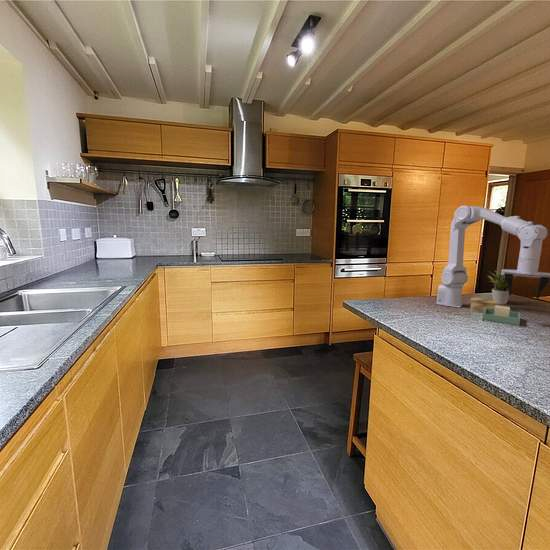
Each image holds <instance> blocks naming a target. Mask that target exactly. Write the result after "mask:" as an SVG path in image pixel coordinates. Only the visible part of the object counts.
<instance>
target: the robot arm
mask: <svg viewBox="0 0 550 550" xmlns="http://www.w3.org/2000/svg"><path fill="white" fill-rule="evenodd" d="M481 220H486V221H488V222H491V223H494V224H497V225H499V226H500V227H501V229H502V231H505V232H506V233H508V234H511V235H514V236H516V237H517V238H518V239H519V240H520V249H519V255H518V261H517V269H506V268H504V269H503V268H502V269H501V272H500V274H501V276H503V275H504V276H505V280H506V282H507V287H508V288H507V290H509V296H512V289H513V286H512V285H513V281H514V279H513V277H514V276H517V277H524V278H525V277H526V278H537V279H538V278H539V279H538V284H537V290H536V295H535V298H536V299H540V296H541V293H542V292H543V290H544V289H545V288H546V286H547V285H548V284H549V283H550V272H544V271H539V267H540V266H539V265H540V261H541V260H540V259H541V254H542V246H543V241H544V240H545V239H546V238H547V237H548V228H546V227H545V226H543V225H542V224H535V225H534V224H533V223H534V222H533V221H526V220H523V219H521V216H519V215H514V216H513V215H511V216H507V217H506V216H504V215H502V214H500V213H499V212H495V211H493V210H491V209H489V208H487V207H482V206H474V205H473V206H470V205H461V206H459V207H458V208H457V209H456V210H455V211H454V213H453V219H452V221H451V224H450V231H449V232H450V233H449V250H448V264H447V265H445V267H444V268H443V271H442V274H441V277H440V280H441V282H442V284H438V289H437V296H436V305H439V306H446V307H453V308H459V309H460V308H461V307H462V306H463V303H462V296H463V289H464V288H463V287H464V286H465V284H467V282H468V280H469V276H468V273H467V267H466V266H465V265H464V255H465V254H464V251H465V239H466V237H465V236H466V229H467V228H468V227H469V226H471V225H473V224H475V223H478V222H479V221H481ZM519 274H520V275H519Z"/></svg>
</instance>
